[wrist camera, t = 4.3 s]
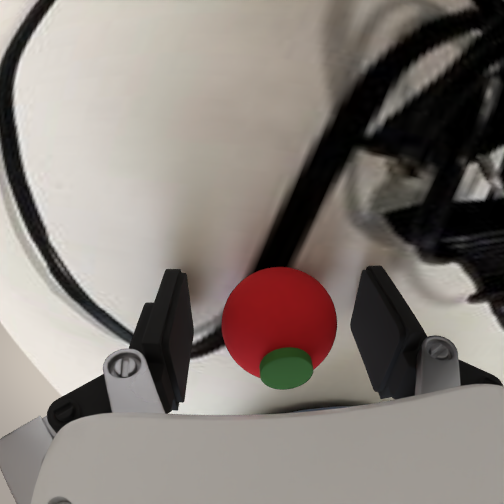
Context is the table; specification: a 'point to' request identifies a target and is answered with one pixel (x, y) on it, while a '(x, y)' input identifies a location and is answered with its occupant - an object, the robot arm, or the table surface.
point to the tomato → (279, 326)
